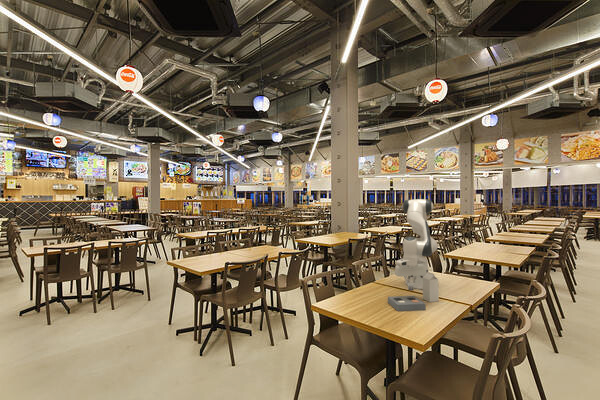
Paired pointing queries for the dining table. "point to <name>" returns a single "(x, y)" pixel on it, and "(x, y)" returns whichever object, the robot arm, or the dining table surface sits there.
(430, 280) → the milk carton
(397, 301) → the socket board
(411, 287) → the plug
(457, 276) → the dining table surface
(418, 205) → the robot arm
